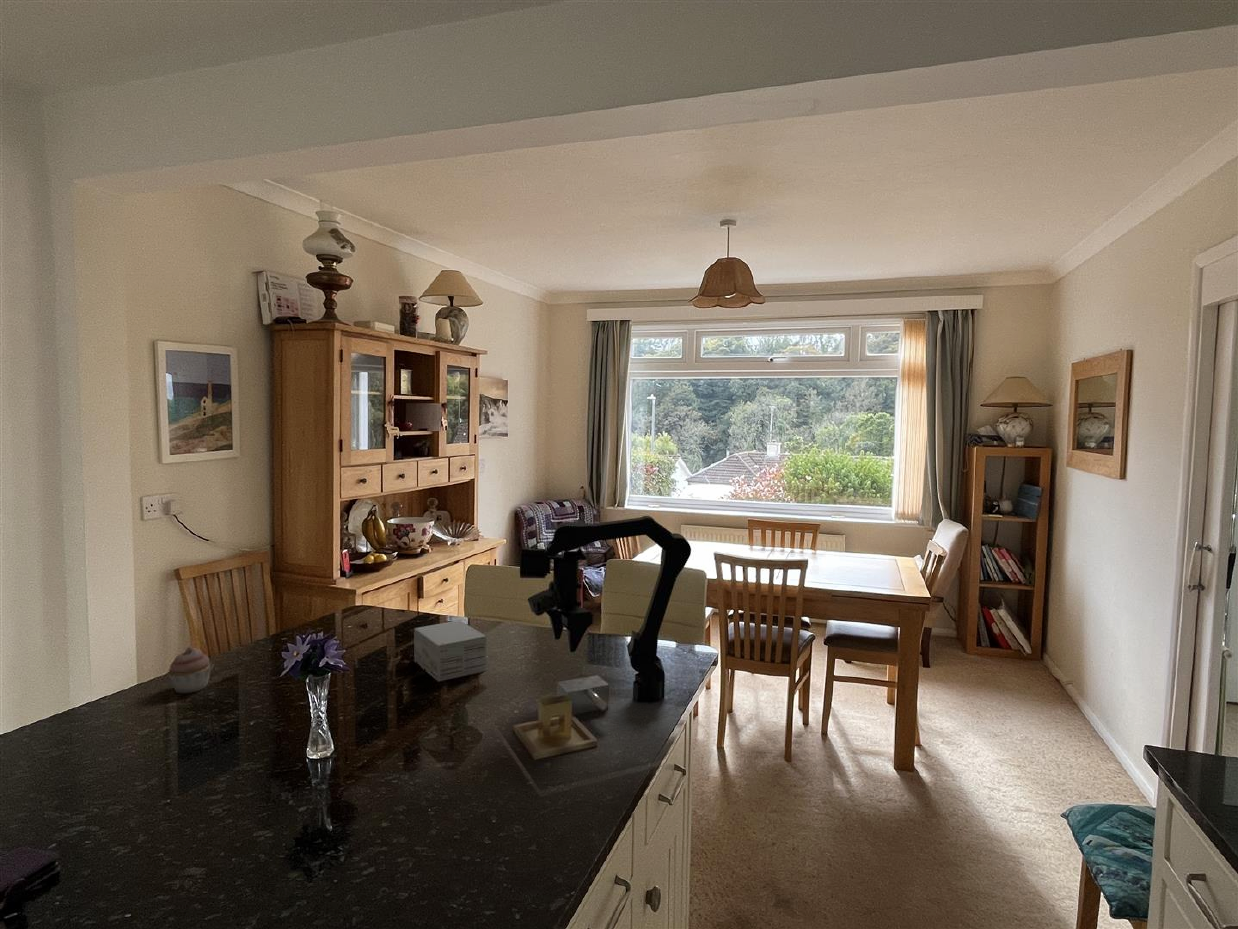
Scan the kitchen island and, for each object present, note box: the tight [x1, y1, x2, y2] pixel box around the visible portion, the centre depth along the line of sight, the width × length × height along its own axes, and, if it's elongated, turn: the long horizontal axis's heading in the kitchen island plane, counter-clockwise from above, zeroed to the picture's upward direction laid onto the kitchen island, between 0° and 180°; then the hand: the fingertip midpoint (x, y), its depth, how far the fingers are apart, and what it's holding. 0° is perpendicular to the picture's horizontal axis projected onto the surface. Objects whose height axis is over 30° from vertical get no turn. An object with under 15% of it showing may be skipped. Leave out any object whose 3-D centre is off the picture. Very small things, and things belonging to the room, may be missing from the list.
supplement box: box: [413, 620, 487, 683], centre depth 172 cm, size 17×13×9 cm
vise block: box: [556, 674, 610, 716], centre depth 145 cm, size 11×14×6 cm
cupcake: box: [166, 646, 214, 694], centre depth 155 cm, size 9×9×10 cm
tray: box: [512, 714, 598, 761], centre depth 134 cm, size 13×13×2 cm
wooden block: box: [537, 695, 572, 744], centre depth 133 cm, size 6×3×8 cm, turn 117°
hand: (564, 645), depth 152 cm, fingers open, 9 cm apart
